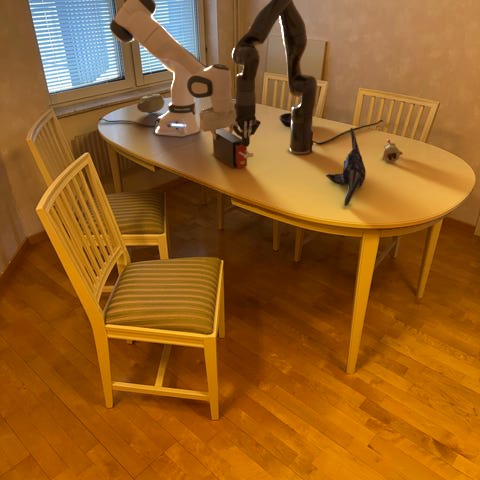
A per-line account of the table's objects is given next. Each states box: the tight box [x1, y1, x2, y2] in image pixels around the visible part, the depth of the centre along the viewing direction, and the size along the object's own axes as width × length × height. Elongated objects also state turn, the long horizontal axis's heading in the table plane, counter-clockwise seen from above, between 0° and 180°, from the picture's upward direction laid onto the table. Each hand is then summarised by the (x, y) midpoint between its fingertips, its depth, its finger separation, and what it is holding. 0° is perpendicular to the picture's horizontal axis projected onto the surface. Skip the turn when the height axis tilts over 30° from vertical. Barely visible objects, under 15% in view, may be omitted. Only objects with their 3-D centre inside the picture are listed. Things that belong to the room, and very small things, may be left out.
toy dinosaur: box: [325, 127, 367, 207], centre depth 167 cm, size 37×15×15 cm
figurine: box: [381, 138, 404, 163], centre depth 192 cm, size 9×7×15 cm
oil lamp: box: [278, 112, 292, 129], centre depth 232 cm, size 15×20×5 cm
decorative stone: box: [136, 93, 165, 114], centre depth 254 cm, size 17×11×10 cm, turn 135°
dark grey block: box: [212, 128, 242, 169], centre depth 192 cm, size 18×5×11 cm, turn 31°
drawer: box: [234, 143, 254, 169], centre depth 188 cm, size 22×4×9 cm, turn 31°
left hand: (222, 137), depth 194 cm, fingers closed on dark grey block, 5 cm apart
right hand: (245, 145), depth 178 cm, fingers closed
